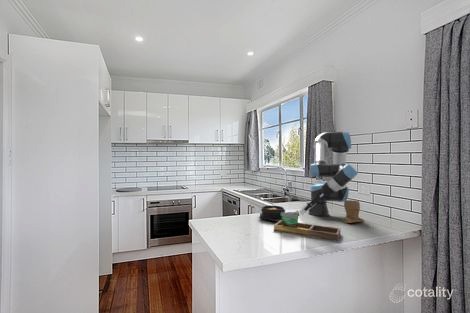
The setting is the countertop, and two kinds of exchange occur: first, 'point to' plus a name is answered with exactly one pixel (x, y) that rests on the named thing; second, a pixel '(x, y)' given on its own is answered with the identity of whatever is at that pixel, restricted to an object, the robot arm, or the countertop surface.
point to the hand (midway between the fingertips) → (303, 211)
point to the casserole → (272, 213)
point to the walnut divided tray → (310, 230)
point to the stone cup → (352, 211)
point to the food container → (290, 219)
